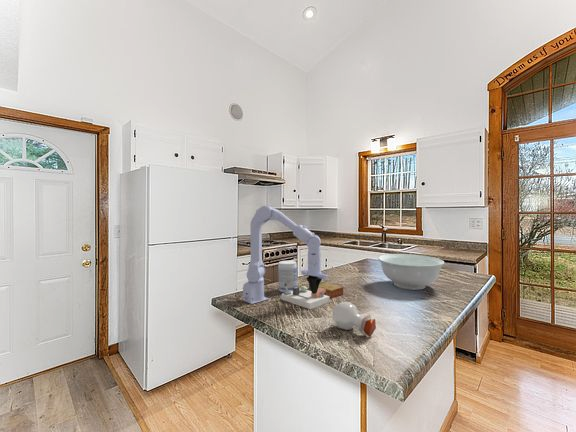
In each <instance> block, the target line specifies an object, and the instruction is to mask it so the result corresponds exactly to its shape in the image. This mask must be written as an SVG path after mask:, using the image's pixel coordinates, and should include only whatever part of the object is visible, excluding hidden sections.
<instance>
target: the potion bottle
mask: <svg viewBox="0 0 576 432" xmlns="http://www.w3.org/2000/svg"><path fill="white" fill-rule="evenodd" d="M332 321H333V322H334V324H335V326H336V327H338V328H339V329H341V330H345V331H348V330H349V331H350V330H352V329H354V328H357V329H358V331H359V333H361V334H362V335H363V336H367V337H368V338H371V337H372V335H374V333H375V330H376V328H377V326H376V325H377V324H376V318H374V319H372V316H371V314H370V315H366V316H364V315H361V314H360V311H359V309H358V308H357V306H356V305H355V304H353V303H351V302H350V301H341V302H339V303H337V304H336V305H335V307H334V308H333V310H332Z"/></svg>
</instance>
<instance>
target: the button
mask: <svg viewBox="0 0 576 432" xmlns="http://www.w3.org/2000/svg"><path fill="white" fill-rule="evenodd" d="M299 289H300V291H301V292H306V290H307V286H305V285H301V286H299Z"/></svg>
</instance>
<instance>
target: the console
mask: <svg viewBox="0 0 576 432" xmlns="http://www.w3.org/2000/svg"><path fill="white" fill-rule="evenodd" d="M281 300H283V301H285V302H288V303H291V304H293V305H296V306H300V307H302V308H305V309H308V310H311V309H314V308H318V307H320V306H323V305H326V304H328V303H331V302H330V300H331V298H330V296H326V295H324V293H321V295H320V296H319V297H314V296H311V291H309V289H306V292H301V291H300V294H298V295H293V291H290V292H282V293H281Z"/></svg>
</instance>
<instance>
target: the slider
mask: <svg viewBox="0 0 576 432" xmlns="http://www.w3.org/2000/svg"><path fill="white" fill-rule="evenodd" d="M298 294H300V286H297V287H294V288H293V295H298Z"/></svg>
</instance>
